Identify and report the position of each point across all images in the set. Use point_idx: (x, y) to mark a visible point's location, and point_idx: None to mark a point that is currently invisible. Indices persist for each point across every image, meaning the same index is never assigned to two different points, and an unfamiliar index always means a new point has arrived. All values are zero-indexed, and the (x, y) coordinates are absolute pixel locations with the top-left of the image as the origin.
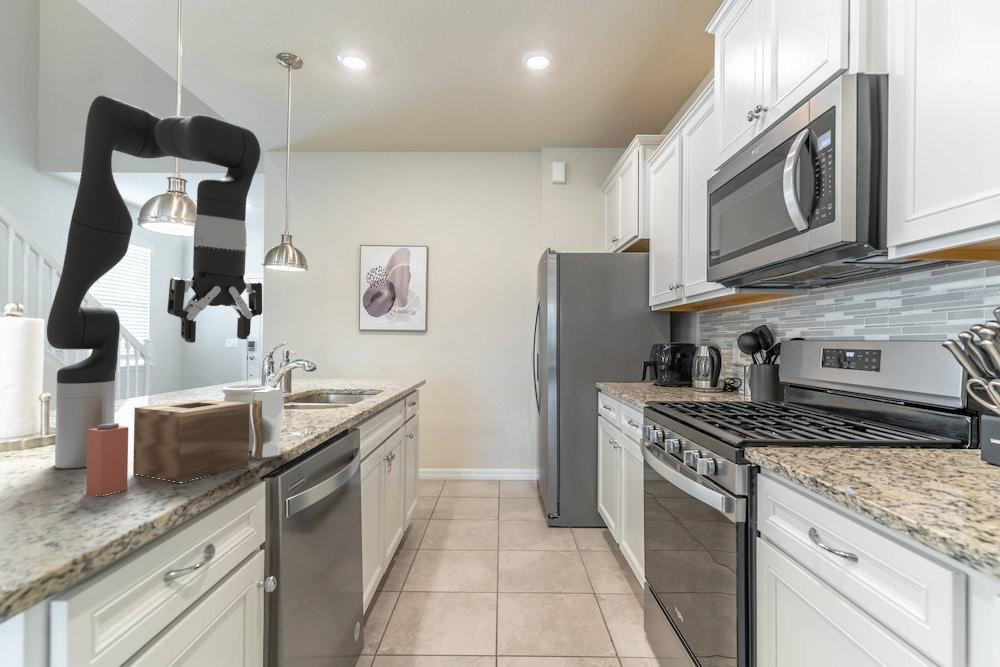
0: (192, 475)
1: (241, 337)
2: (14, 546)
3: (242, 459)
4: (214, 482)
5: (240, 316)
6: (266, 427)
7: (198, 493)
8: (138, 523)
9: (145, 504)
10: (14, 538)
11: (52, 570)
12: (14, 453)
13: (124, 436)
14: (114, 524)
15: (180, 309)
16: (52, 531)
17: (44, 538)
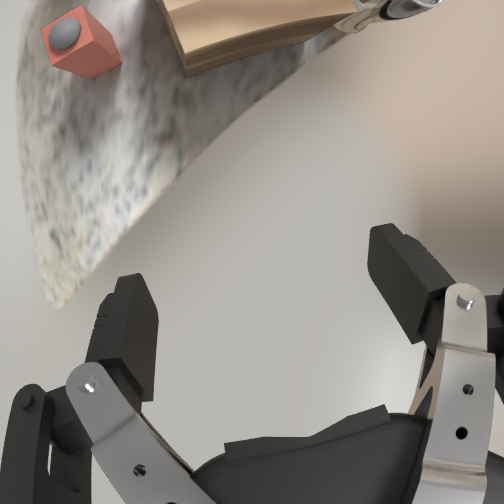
0: (206, 69)
1: (371, 263)
2: (30, 221)
3: (296, 42)
4: (228, 105)
5: (434, 312)
6: (365, 16)
7: (194, 149)
8: (118, 228)
9: (130, 154)
10: (26, 195)
11: (67, 301)
12: None
13: (92, 47)
14: (97, 214)
15: (81, 458)
16: (49, 196)
17: (46, 214)
